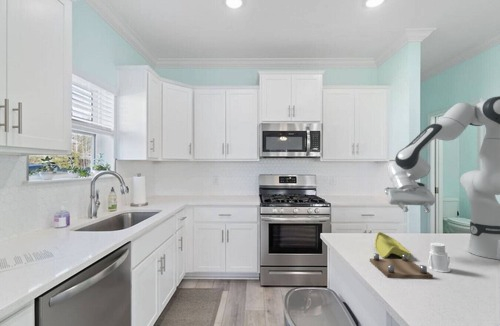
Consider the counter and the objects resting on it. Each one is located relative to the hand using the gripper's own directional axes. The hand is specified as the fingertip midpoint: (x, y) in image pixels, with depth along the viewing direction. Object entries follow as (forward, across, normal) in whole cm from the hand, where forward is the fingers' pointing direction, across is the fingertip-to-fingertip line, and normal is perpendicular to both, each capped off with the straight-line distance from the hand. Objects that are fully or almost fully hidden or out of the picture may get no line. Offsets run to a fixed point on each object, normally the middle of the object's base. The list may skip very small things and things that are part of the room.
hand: (417, 211), depth 115 cm
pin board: (+25, -15, +4) cm, 30 cm away
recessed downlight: (+24, +1, +5) cm, 25 cm away
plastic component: (+11, -8, +19) cm, 23 cm away
